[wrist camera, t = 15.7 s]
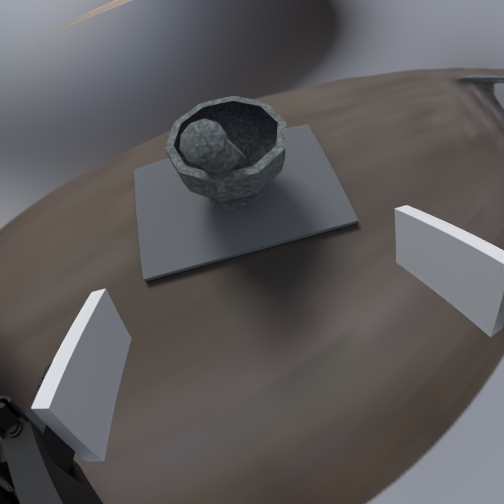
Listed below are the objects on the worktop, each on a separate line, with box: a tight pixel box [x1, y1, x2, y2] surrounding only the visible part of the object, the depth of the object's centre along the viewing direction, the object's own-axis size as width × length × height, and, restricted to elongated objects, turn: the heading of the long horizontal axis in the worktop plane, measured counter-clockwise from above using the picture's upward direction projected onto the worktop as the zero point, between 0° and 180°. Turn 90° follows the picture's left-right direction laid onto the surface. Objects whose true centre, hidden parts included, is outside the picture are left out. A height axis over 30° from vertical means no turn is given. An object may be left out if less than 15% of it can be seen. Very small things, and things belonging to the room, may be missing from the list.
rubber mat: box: [134, 124, 358, 281], centre depth 28 cm, size 20×13×1 cm, turn 105°
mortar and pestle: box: [165, 96, 286, 210], centre depth 22 cm, size 11×9×12 cm
